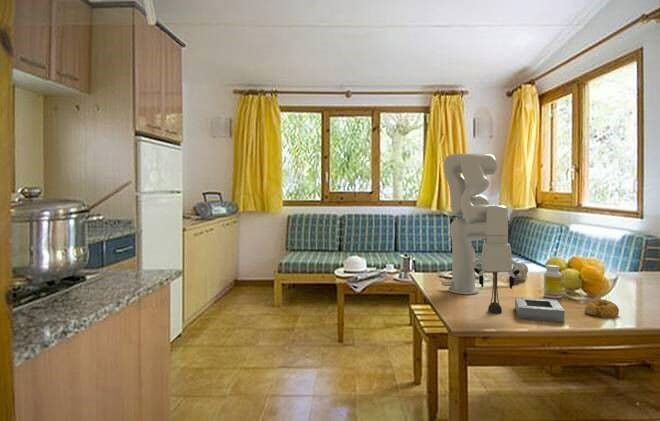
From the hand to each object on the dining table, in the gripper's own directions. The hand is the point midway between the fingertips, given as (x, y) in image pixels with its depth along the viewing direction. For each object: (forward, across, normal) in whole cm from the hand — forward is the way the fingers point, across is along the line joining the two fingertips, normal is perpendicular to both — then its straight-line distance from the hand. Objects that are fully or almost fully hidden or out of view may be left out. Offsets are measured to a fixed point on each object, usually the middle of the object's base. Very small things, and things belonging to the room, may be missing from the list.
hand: (496, 287), depth 160 cm
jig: (+9, +14, 0) cm, 17 cm away
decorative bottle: (+9, +12, +66) cm, 67 cm away
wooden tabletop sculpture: (+9, 0, 0) cm, 9 cm away
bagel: (+10, +35, +8) cm, 37 cm away
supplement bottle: (+9, +23, +30) cm, 39 cm away
